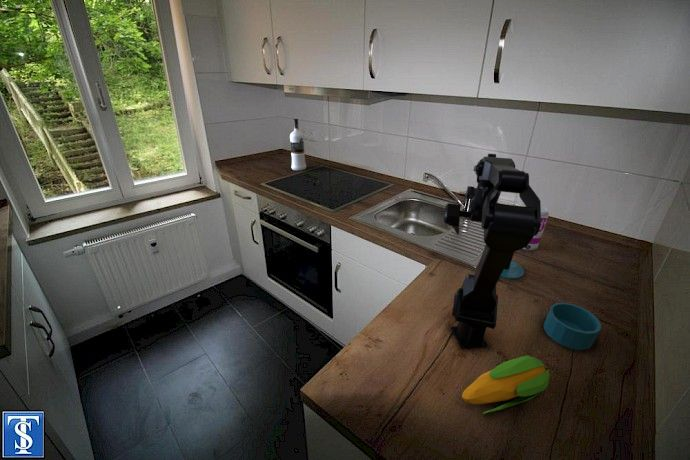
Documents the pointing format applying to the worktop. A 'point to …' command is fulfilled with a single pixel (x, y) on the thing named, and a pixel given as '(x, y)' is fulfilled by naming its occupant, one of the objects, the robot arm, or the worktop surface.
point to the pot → (572, 326)
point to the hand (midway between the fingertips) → (473, 235)
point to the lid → (512, 270)
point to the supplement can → (536, 239)
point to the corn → (509, 383)
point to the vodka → (297, 148)
